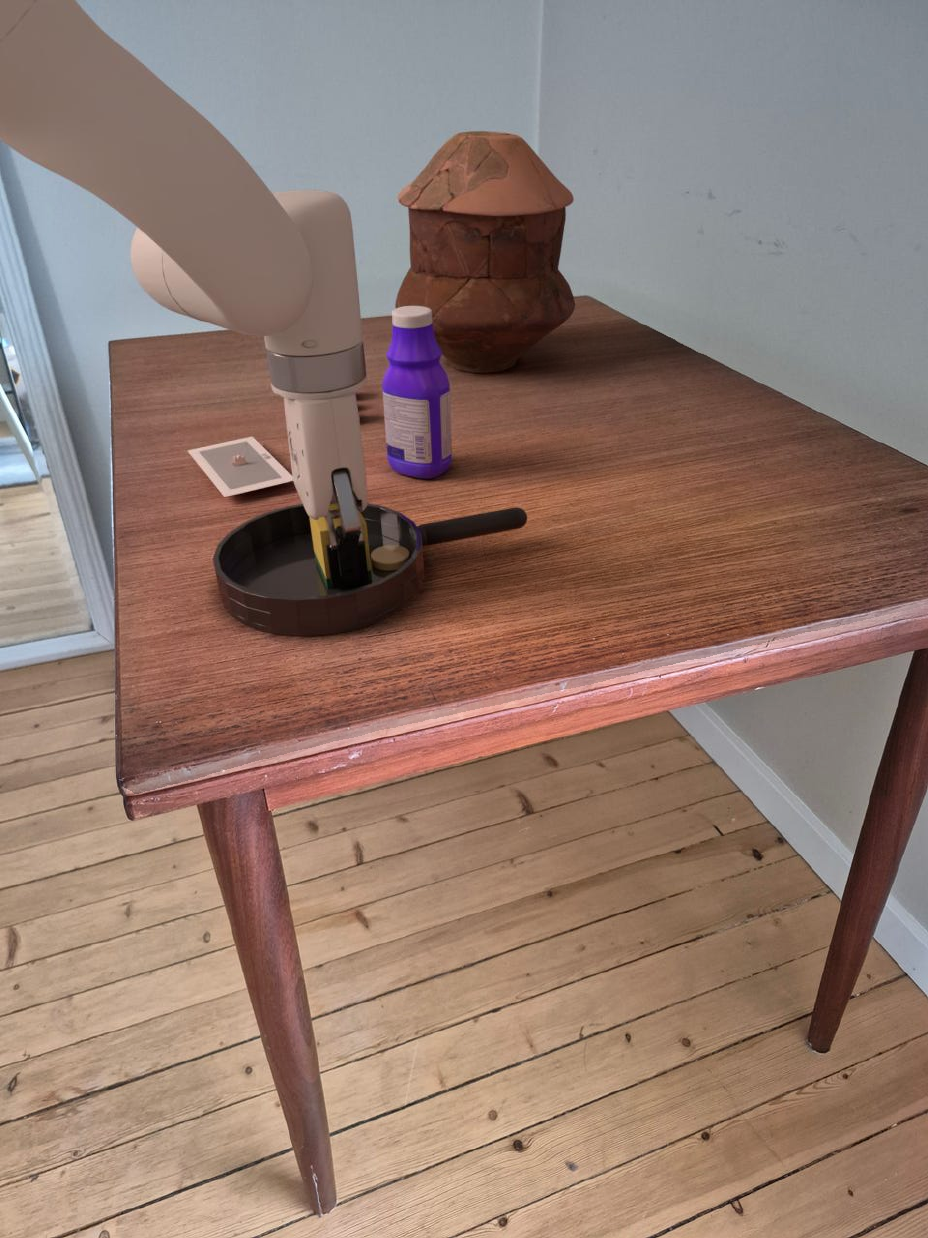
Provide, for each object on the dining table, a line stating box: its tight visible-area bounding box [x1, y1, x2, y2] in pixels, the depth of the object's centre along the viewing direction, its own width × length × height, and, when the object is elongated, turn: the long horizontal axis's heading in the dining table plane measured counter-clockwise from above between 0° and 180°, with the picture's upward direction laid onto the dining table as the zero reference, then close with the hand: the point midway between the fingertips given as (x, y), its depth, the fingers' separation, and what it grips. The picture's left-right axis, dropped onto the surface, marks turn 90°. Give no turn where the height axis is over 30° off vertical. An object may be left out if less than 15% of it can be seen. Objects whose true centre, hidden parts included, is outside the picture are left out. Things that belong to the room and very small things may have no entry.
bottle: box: [381, 306, 453, 480], centre depth 95 cm, size 7×6×17 cm
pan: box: [212, 502, 425, 637], centre depth 79 cm, size 18×18×4 cm
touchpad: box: [186, 436, 294, 498], centre depth 100 cm, size 8×15×2 cm, turn 29°
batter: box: [371, 545, 410, 571], centre depth 81 cm, size 4×4×1 cm
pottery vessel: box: [394, 130, 576, 374], centre depth 124 cm, size 26×26×30 cm
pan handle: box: [416, 506, 528, 547], centre depth 82 cm, size 11×2×2 cm, turn 109°
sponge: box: [309, 503, 372, 589], centre depth 79 cm, size 4×6×6 cm
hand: (342, 565), depth 80 cm, fingers closed on sponge, 5 cm apart
